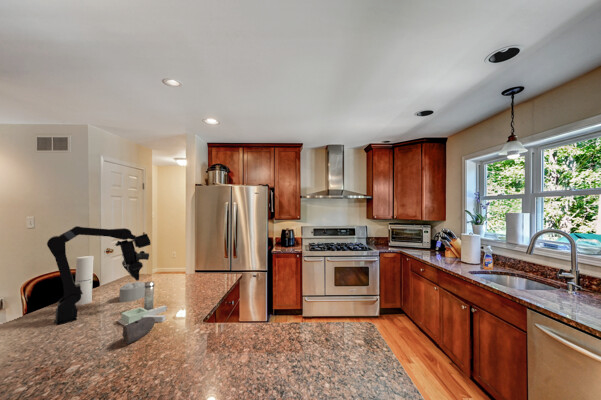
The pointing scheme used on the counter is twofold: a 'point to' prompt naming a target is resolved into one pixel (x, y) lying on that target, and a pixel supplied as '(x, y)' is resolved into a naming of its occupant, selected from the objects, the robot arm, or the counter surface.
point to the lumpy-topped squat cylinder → (132, 292)
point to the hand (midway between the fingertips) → (135, 278)
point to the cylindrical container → (84, 278)
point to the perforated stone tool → (137, 329)
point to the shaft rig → (142, 315)
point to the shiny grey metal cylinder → (149, 295)
